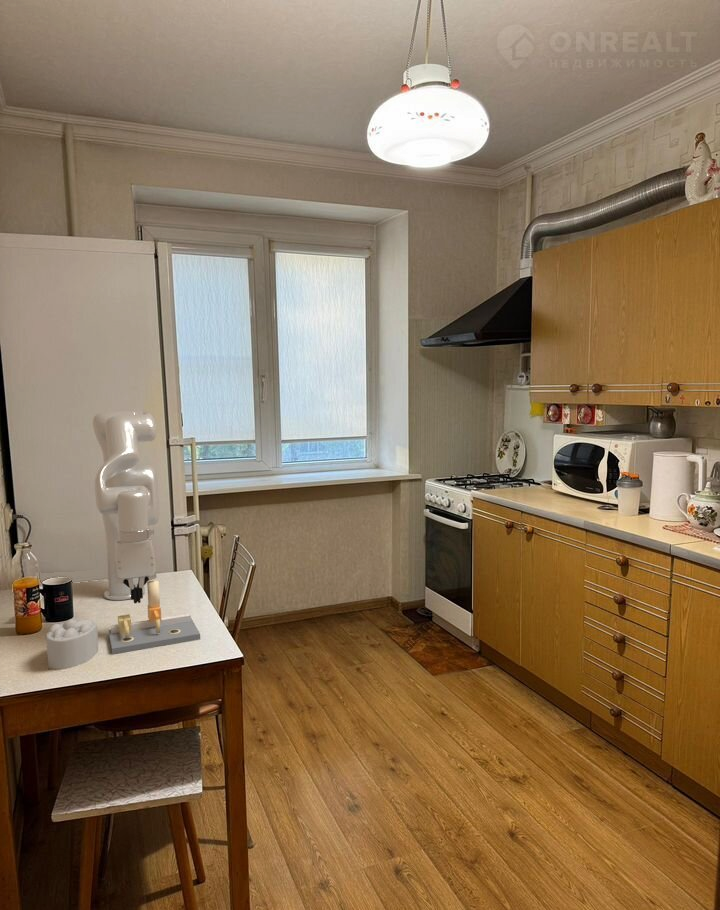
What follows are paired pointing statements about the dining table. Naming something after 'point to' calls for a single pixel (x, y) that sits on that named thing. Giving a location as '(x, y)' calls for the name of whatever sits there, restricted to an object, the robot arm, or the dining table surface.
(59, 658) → the lumpy-topped squat cylinder
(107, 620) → the dining table surface
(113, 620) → the dining table surface
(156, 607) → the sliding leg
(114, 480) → the robot arm
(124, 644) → the plate
